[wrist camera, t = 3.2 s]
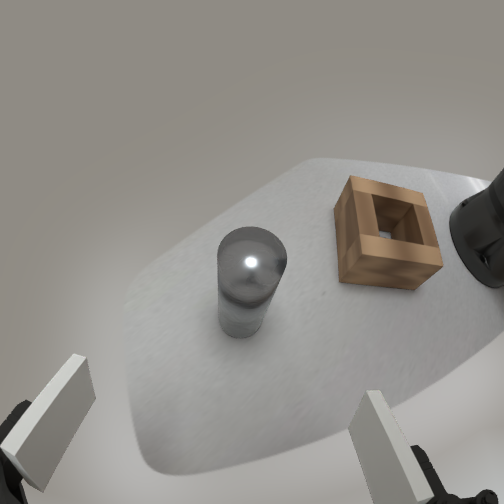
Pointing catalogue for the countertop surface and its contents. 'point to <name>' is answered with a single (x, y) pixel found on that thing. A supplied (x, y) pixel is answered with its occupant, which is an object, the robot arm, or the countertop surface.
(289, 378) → the countertop surface
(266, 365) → the countertop surface
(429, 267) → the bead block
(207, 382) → the countertop surface
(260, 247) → the silver metal peg
